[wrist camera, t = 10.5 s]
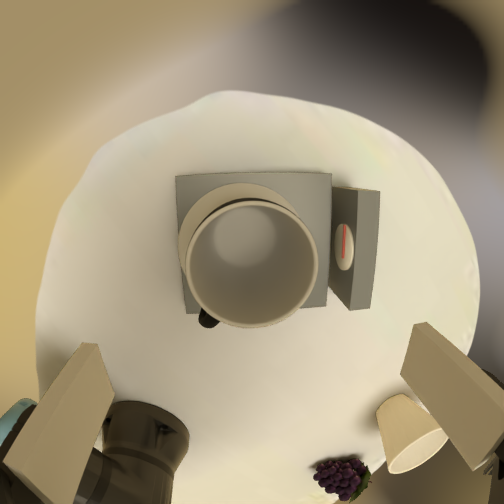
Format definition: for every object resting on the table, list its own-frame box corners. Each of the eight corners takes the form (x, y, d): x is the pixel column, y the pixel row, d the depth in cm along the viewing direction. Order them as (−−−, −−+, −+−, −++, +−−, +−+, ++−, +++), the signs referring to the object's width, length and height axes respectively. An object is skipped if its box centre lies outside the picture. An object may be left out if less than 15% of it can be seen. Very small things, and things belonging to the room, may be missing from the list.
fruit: (323, 444, 47) (381, 454, 46) (301, 474, 48) (357, 483, 46) (328, 475, 37) (392, 482, 36) (302, 505, 38) (364, 511, 36)
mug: (230, 174, 27) (230, 172, 17) (306, 223, 29) (344, 247, 19) (170, 276, 29) (144, 323, 19) (243, 316, 31) (249, 375, 21)
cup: (352, 428, 43) (374, 478, 31) (386, 381, 40) (420, 431, 28) (396, 427, 44) (420, 468, 32) (428, 384, 42) (462, 424, 30)
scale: (189, 304, 34) (180, 334, 27) (179, 176, 30) (165, 176, 23) (345, 295, 35) (367, 320, 28) (351, 174, 31) (380, 175, 24)
